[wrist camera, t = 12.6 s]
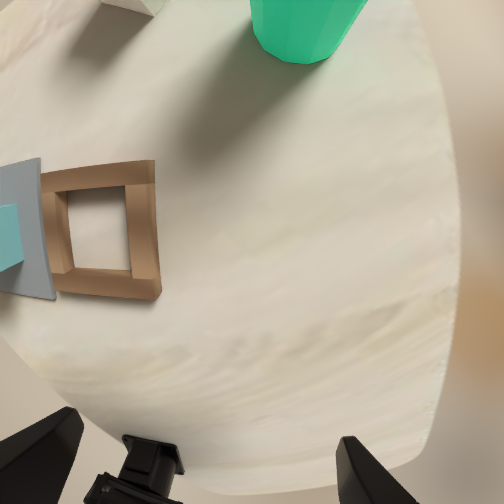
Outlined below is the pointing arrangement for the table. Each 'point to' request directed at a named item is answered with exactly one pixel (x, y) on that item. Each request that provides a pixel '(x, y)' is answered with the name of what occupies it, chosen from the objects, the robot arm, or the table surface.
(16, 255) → the teal rectangular block
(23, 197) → the mat
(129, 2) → the white cube
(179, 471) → the robot arm
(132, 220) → the frame
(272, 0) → the candle
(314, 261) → the table surface
